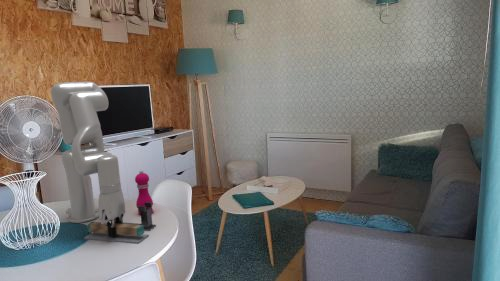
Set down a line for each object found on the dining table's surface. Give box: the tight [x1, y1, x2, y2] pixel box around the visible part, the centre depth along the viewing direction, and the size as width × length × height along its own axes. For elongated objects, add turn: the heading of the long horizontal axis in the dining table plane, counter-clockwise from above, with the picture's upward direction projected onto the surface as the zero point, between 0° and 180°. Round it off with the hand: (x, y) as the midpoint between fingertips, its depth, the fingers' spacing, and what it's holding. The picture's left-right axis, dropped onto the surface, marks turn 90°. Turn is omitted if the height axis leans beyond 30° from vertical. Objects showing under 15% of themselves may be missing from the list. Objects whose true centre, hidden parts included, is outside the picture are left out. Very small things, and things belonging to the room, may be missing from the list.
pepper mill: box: [134, 169, 154, 216], centre depth 171 cm, size 7×7×20 cm
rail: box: [86, 221, 145, 236], centre depth 146 cm, size 23×3×3 cm, turn 73°
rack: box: [114, 202, 157, 232], centre depth 155 cm, size 19×5×10 cm, turn 73°
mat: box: [83, 232, 150, 245], centre depth 146 cm, size 24×7×1 cm, turn 73°
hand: (115, 234), depth 146 cm, fingers closed on rail, 3 cm apart
